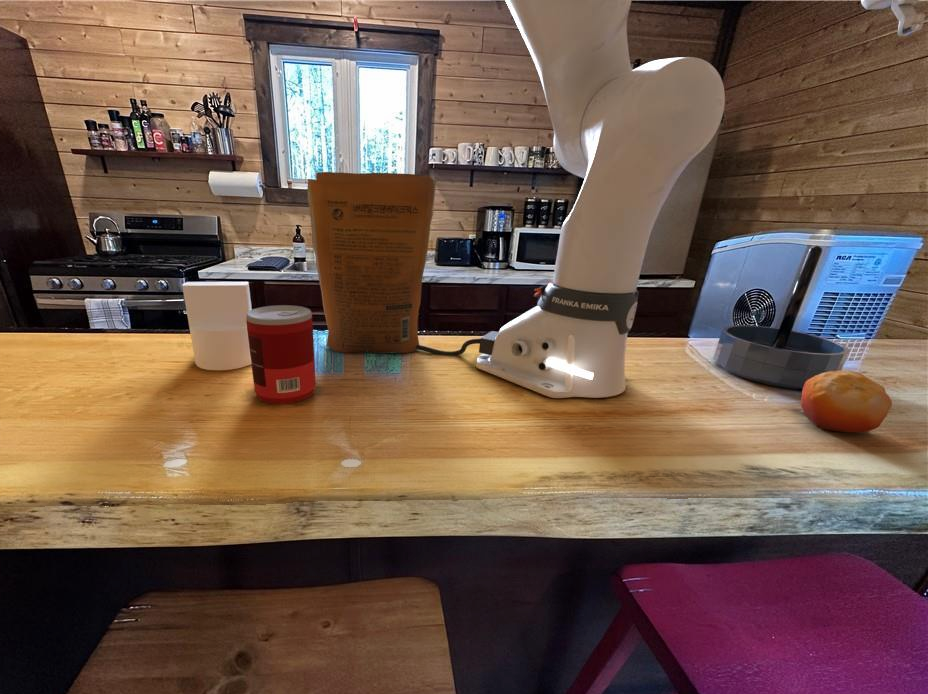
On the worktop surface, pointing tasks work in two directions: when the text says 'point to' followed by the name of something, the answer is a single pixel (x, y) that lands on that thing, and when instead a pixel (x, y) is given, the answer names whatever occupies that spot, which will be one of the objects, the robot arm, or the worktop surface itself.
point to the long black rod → (797, 296)
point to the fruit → (844, 402)
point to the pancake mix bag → (371, 256)
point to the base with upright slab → (218, 323)
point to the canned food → (282, 353)
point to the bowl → (777, 355)
